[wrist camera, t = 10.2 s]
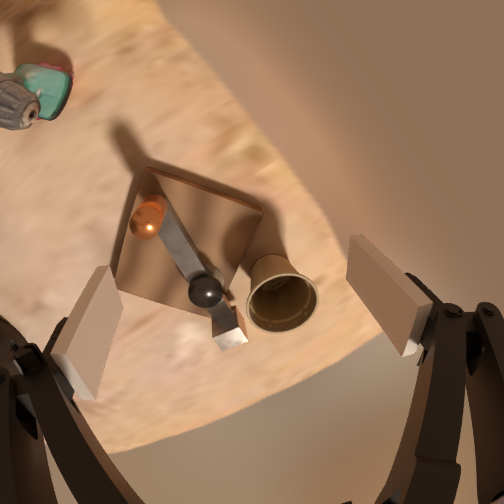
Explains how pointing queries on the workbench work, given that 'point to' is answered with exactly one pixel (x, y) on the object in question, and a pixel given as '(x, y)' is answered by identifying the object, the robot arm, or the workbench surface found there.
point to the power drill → (33, 94)
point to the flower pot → (280, 296)
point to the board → (200, 232)
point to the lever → (190, 268)
